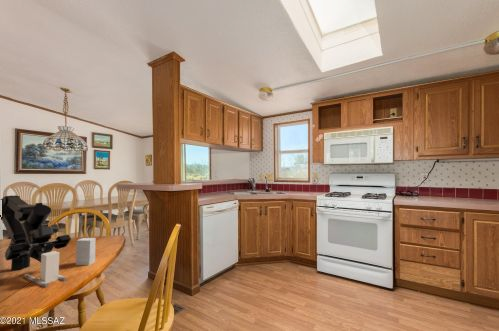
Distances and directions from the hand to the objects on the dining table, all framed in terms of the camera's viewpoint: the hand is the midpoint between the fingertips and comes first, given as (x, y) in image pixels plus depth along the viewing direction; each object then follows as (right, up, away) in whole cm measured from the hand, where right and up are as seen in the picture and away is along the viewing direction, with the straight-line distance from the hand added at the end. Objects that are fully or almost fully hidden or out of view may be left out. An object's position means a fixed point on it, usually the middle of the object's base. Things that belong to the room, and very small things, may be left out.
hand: (47, 264), depth 88 cm
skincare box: (+3, -8, +16) cm, 18 cm away
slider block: (+2, -5, -1) cm, 6 cm away
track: (-1, -7, 0) cm, 7 cm away
